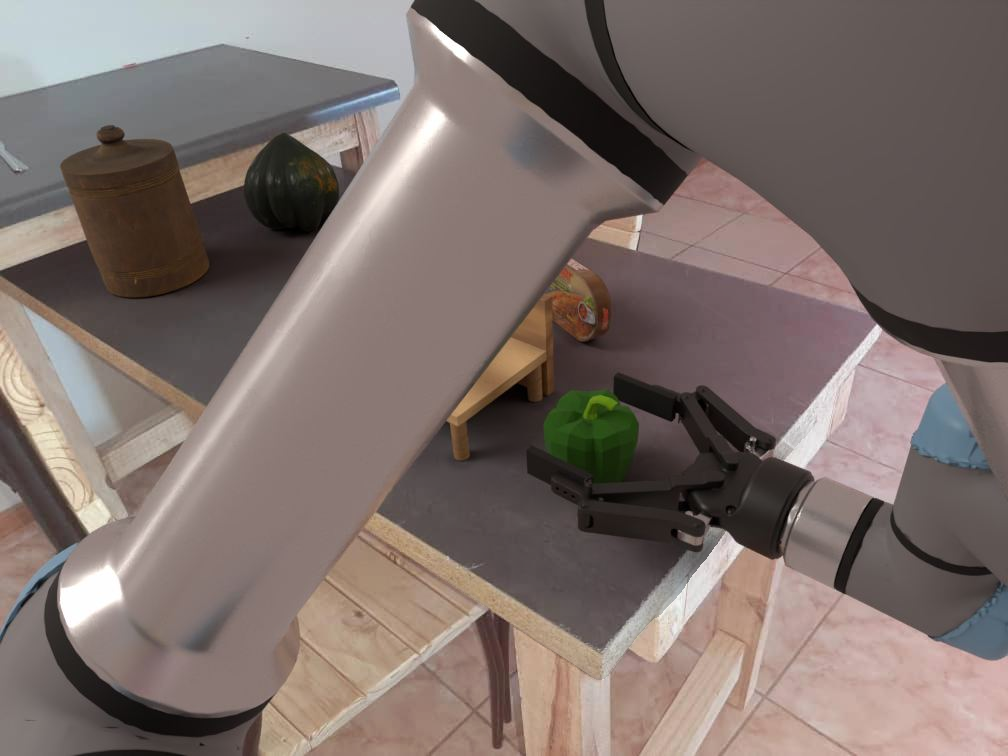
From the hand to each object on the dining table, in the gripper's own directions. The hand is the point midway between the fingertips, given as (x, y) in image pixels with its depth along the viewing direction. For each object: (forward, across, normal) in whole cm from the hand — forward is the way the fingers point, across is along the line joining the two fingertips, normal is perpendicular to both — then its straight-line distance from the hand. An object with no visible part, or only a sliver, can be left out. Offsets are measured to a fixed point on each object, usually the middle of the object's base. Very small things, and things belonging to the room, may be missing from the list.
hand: (574, 420), depth 72 cm
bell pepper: (-2, 0, -6) cm, 6 cm away
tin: (+16, +22, -6) cm, 28 cm away
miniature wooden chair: (+16, +1, -6) cm, 17 cm away
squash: (+72, +23, -6) cm, 76 cm away
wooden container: (+75, -1, -6) cm, 75 cm away
